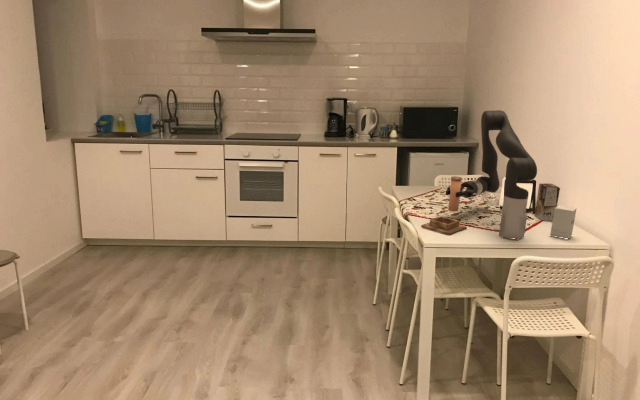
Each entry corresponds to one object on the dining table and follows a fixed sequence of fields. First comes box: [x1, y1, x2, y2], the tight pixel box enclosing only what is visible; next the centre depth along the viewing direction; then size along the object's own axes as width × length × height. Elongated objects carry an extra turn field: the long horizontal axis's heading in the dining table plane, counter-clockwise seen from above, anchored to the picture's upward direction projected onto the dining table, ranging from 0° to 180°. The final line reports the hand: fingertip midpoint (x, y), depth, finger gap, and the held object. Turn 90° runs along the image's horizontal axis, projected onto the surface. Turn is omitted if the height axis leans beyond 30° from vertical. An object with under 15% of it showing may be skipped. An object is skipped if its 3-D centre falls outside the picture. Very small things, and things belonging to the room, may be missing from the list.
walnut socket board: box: [420, 215, 468, 236], centre depth 225 cm, size 14×14×4 cm
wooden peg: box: [447, 175, 463, 213], centre depth 233 cm, size 5×5×15 cm
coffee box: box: [534, 182, 561, 222], centre depth 245 cm, size 9×6×16 cm
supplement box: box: [550, 204, 577, 239], centre depth 219 cm, size 7×7×13 cm
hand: (451, 193), depth 231 cm, fingers closed on wooden peg, 4 cm apart
